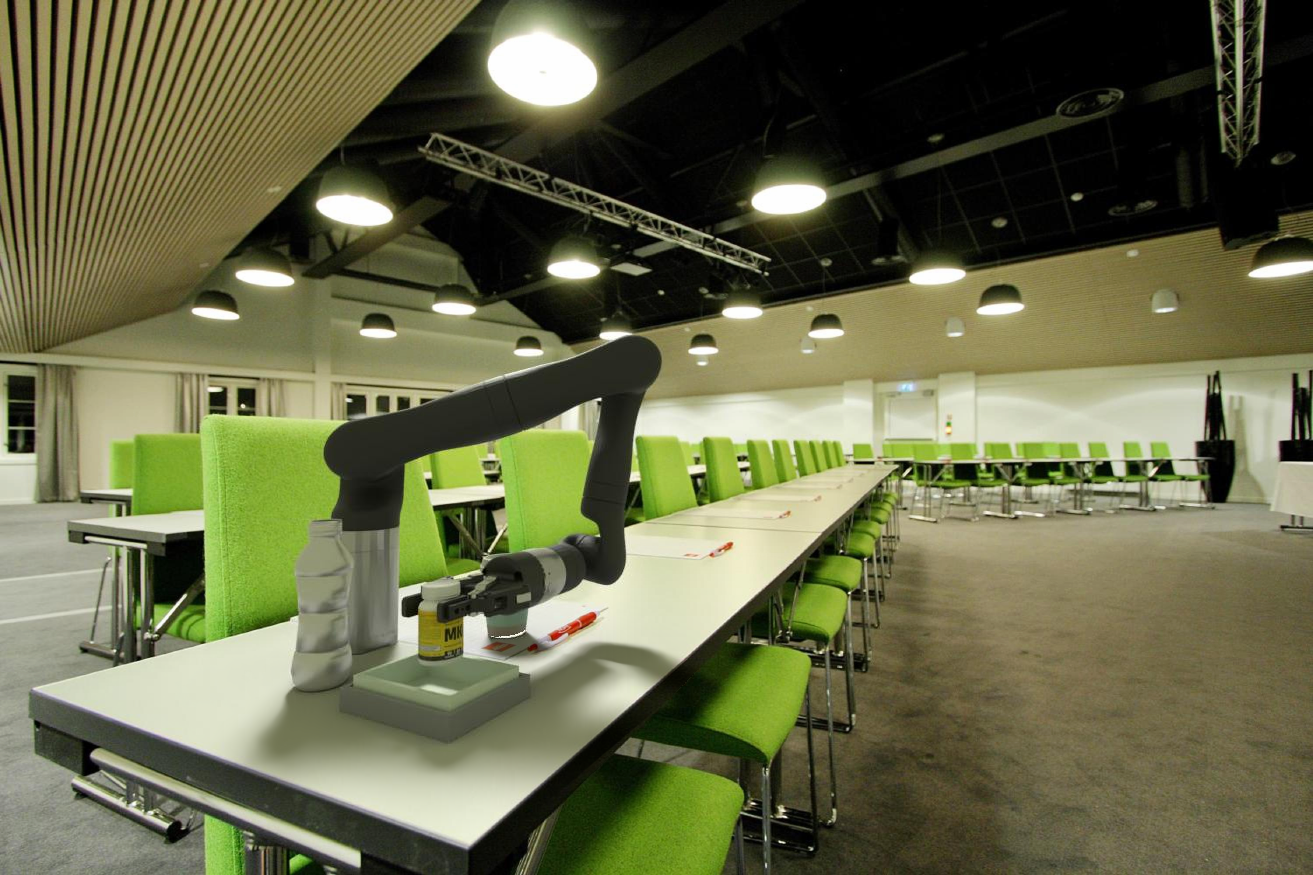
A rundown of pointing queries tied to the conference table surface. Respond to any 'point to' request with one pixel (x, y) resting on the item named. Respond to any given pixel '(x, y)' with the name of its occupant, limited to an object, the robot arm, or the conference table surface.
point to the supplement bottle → (438, 626)
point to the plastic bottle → (323, 609)
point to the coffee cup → (501, 623)
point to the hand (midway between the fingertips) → (421, 610)
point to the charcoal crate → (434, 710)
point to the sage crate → (436, 680)
